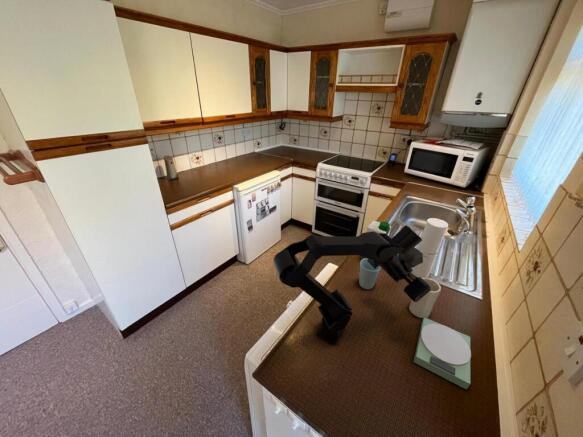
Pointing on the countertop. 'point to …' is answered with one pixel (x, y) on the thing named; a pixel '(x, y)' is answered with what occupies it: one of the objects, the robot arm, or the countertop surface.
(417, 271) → the cylindrical container
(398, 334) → the countertop surface
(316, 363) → the countertop surface
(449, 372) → the kitchen scale
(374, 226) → the milk carton
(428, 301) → the beaker
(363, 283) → the cup
